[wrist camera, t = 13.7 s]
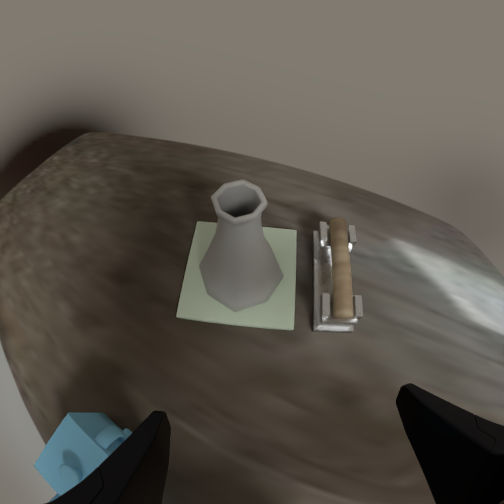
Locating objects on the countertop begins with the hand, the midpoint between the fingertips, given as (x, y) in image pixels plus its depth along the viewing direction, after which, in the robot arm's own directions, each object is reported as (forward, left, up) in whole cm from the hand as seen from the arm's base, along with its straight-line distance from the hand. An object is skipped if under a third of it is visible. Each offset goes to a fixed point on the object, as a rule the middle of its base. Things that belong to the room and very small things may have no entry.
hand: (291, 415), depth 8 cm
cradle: (+10, +8, -13) cm, 18 cm away
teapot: (-15, -2, -13) cm, 20 cm away
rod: (+10, +8, -10) cm, 16 cm away
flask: (+2, +11, -12) cm, 17 cm away
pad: (+3, +12, -13) cm, 17 cm away
